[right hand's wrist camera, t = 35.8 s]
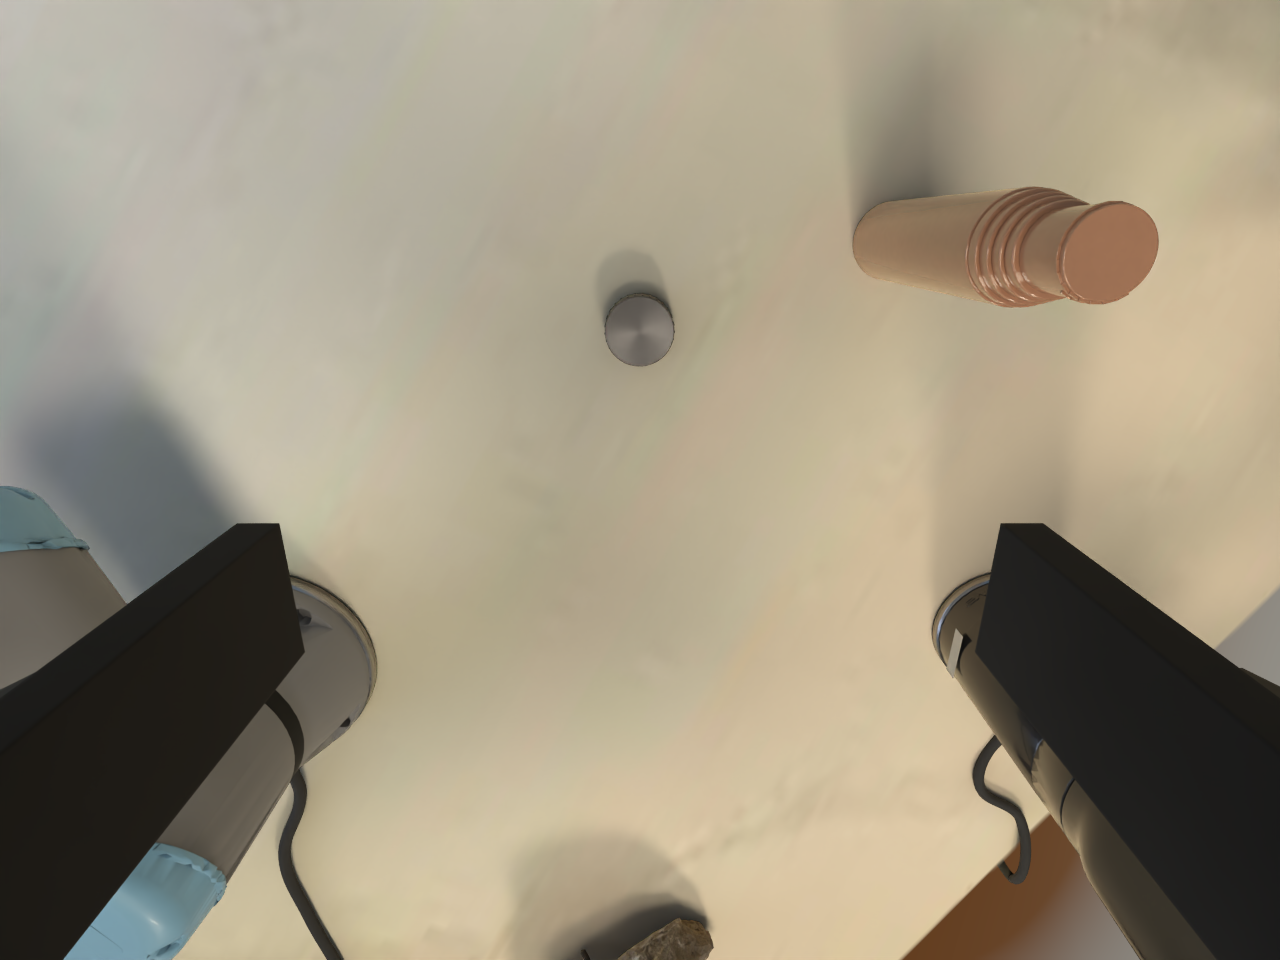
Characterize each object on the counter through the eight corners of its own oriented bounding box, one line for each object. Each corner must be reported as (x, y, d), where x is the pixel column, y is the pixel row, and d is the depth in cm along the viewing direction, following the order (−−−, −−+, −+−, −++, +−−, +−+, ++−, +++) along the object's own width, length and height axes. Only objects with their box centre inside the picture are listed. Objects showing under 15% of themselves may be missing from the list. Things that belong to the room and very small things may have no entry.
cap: (592, 337, 45) (590, 342, 44) (629, 278, 44) (628, 281, 42) (649, 374, 46) (649, 380, 44) (686, 317, 45) (688, 321, 43)
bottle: (840, 226, 43) (1019, 225, 23) (911, 185, 42) (1162, 147, 22) (870, 293, 44) (1063, 350, 24) (939, 255, 44) (1199, 281, 23)
